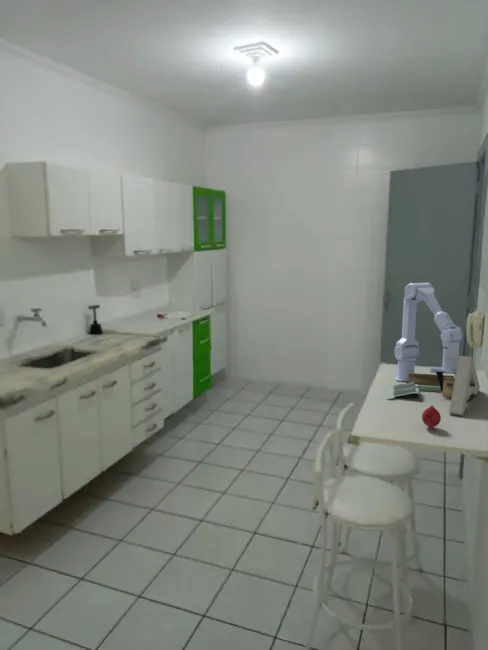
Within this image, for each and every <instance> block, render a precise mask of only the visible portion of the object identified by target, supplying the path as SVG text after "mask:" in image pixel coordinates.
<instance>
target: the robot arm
mask: <svg viewBox="0 0 488 650" xmlns="http://www.w3.org/2000/svg"><path fill="white" fill-rule="evenodd" d="M434 293H435V289H434V287H433V285H432V284H431V283H430V282H428V281H427V282H426V281H425V282H410V283H408V284H407V285H406V286H404V295H403V296H404V297H403V308H402V310H403V311H402V327H401V328H402V329H401V338H400V339H398V341H396V343H395V346H394V351H393V355H394V357H395V359H396V360H397V370H396V371H397V372H396V373H397V374H396V375H395V381H396V382H397V381H398V382H408V378H409V373H415V367H416V361H417V358H419V356H420V354H421V353H420V348H419V345H420V343H419V341H417V340H416V339H415V338H416V326H417V325H416V322H417V321H416V320H417V307H418V303H420V302H424V304H425V305H426V306H427V307H428V308H429V310H430V311H431V313H432V314H433V316H434V317H433V322H434V323H435V325H436V326H437V328H438V330H439V331H440V340H441V343H442V345H441V346H443V347H442V348H443V350H442V361H441V362H442V363H441V364H442V365H441V366H430V368H429V372H430V373H429V374H435V375H437V377H438V380H439V383H440V390H441V391H443V375H444V374H450V375H454V378H455V377H456V371H457V366H458V360H459V356H460V351H459V350H460V342H461V341H462V340H463V338H464V332H463V330H462V328H461V327H459V326H457V325H456V324H455V323H454V322H453V320H452V318H451V317H450V315H449V313H448V312H446V311H443V309H442V307H441V305H440V304H439V302H438V300H437V298H436V296H435V294H434Z"/></svg>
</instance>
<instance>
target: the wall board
mask: <svg viewBox="0 0 488 650" xmlns="http://www.w3.org/2000/svg"><path fill="white" fill-rule="evenodd" d="M443 377H446V378H455V375H447V374H443ZM411 382H414V383H415V384H419V385H433V386H440V383H439V380H438V377H437V374H434V373H415V372H414V373H409V378H408V383H407V384H409V383H411ZM412 384H413V383H412Z"/></svg>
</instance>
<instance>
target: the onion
mask: <svg viewBox="0 0 488 650" xmlns="http://www.w3.org/2000/svg"><path fill="white" fill-rule="evenodd" d="M421 420H422V422H423V424H424V425H425V426H427V427H428V428H429V429H433V428H435V427H436V426H438V425H439V424H440V423H441V420H442V417H441V413H440V412H439V410H437V408H435V406H434V405H430V406H429V407H427V408H426V409H424V410H423V412H422V414H421Z"/></svg>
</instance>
